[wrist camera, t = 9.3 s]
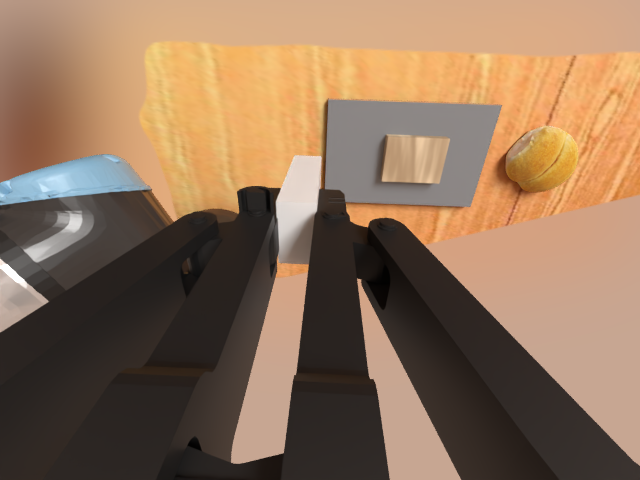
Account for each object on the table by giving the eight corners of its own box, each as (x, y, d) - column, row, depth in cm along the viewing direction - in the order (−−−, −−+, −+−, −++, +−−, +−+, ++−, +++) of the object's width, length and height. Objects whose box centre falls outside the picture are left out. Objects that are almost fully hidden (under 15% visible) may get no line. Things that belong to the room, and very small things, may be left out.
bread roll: (532, 197, 45) (549, 207, 42) (491, 165, 43) (505, 173, 39) (583, 150, 41) (606, 158, 38) (541, 113, 39) (561, 117, 36)
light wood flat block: (381, 181, 41) (439, 183, 41) (388, 136, 38) (450, 138, 38) (380, 177, 43) (435, 179, 43) (386, 134, 40) (445, 136, 40)
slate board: (324, 198, 46) (324, 201, 45) (328, 98, 39) (328, 99, 38) (467, 203, 46) (470, 206, 44) (497, 104, 38) (502, 105, 37)
